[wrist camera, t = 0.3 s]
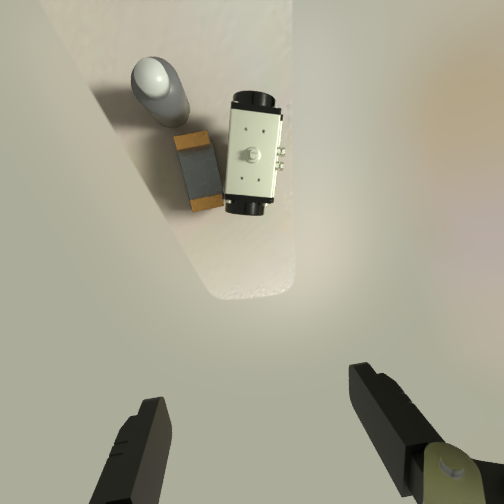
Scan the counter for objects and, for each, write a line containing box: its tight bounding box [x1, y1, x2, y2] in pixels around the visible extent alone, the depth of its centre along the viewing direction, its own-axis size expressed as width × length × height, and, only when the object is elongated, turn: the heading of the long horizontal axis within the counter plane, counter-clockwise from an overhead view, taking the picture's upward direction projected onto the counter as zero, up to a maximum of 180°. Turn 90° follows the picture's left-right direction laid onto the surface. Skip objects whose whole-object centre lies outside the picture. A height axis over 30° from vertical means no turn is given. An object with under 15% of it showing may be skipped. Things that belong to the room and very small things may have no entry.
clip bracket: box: [174, 130, 225, 212], centre depth 34 cm, size 9×5×4 cm, turn 11°
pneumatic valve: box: [224, 91, 285, 216], centre depth 30 cm, size 6×12×12 cm, turn 175°
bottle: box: [131, 57, 190, 128], centre depth 28 cm, size 5×5×10 cm
